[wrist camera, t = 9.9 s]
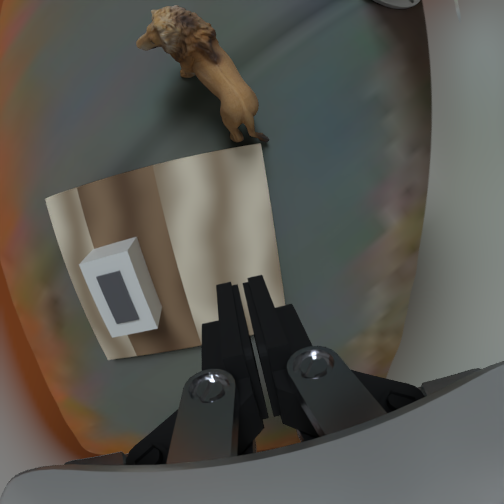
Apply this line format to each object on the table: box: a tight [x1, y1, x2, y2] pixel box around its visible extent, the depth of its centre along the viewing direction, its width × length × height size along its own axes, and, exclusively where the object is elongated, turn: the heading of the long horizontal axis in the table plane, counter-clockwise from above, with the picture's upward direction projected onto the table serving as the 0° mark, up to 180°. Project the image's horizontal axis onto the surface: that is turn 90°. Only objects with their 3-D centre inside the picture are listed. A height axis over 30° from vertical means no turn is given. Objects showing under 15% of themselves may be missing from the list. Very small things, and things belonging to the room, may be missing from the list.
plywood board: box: [45, 143, 285, 360], centre depth 30 cm, size 22×20×2 cm
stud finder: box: [79, 237, 162, 338], centre depth 27 cm, size 5×8×4 cm, turn 12°
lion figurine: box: [136, 5, 269, 142], centre depth 21 cm, size 15×5×9 cm, turn 44°
